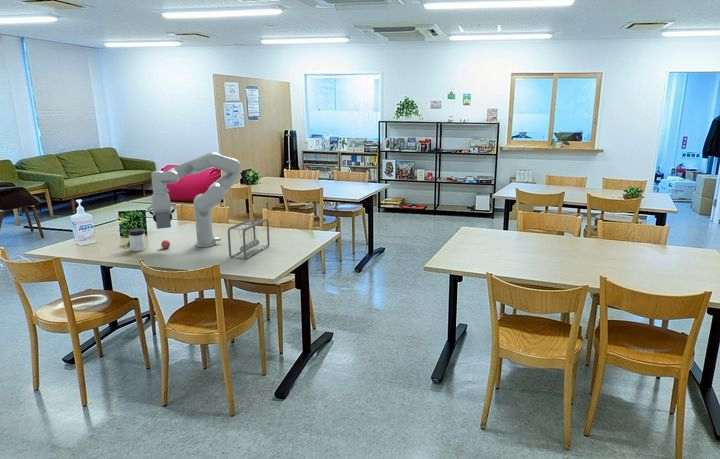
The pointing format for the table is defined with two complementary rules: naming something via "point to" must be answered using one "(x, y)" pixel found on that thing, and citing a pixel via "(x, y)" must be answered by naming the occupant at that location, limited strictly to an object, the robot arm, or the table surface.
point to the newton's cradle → (251, 243)
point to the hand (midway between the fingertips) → (163, 221)
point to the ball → (165, 244)
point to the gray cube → (163, 219)
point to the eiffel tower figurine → (126, 244)
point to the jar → (137, 239)
